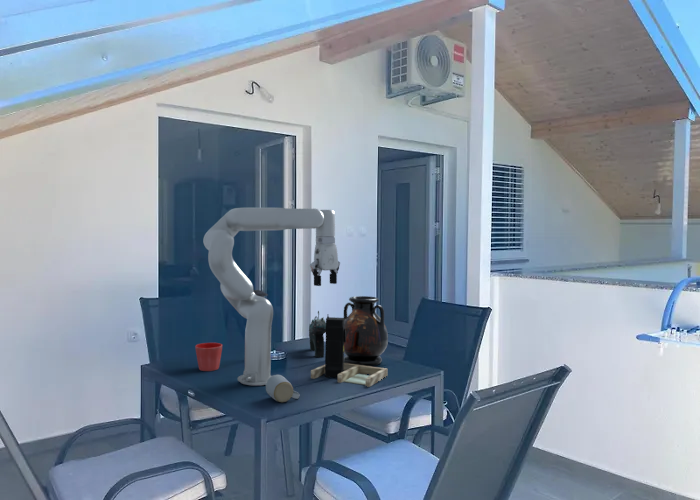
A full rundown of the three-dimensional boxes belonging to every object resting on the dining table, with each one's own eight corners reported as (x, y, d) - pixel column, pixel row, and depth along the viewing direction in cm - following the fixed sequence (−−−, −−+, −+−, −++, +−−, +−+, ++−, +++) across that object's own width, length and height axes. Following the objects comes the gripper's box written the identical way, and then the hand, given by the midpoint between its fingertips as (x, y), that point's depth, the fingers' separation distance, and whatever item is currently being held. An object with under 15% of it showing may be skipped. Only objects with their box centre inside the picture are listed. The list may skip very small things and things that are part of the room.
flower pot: (189, 370, 226) (189, 346, 226) (204, 364, 236) (204, 341, 236) (213, 373, 223) (213, 348, 222) (227, 367, 233) (227, 343, 233)
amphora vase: (395, 360, 251) (396, 297, 250) (374, 370, 231) (376, 302, 230) (351, 354, 260) (353, 293, 259) (328, 364, 241) (329, 298, 240)
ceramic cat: (326, 358, 253) (327, 313, 252) (312, 358, 251) (313, 313, 251) (319, 348, 272) (319, 307, 271) (305, 349, 271) (306, 307, 270)
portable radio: (346, 374, 225) (347, 311, 224) (344, 378, 219) (345, 313, 218) (326, 373, 226) (327, 310, 225) (324, 377, 220) (325, 312, 219)
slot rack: (369, 386, 207) (369, 378, 207) (310, 378, 218) (310, 370, 218) (387, 376, 223) (387, 368, 223) (332, 368, 234) (332, 361, 234)
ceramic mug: (273, 404, 184) (274, 381, 184) (264, 398, 192) (265, 375, 191) (303, 401, 189) (304, 378, 189) (294, 394, 197) (294, 372, 196)
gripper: (318, 241, 215) (318, 287, 215) (346, 240, 228) (346, 283, 229) (303, 241, 219) (303, 285, 220) (331, 240, 233) (331, 282, 234)
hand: (325, 284), depth 224 cm, fingers open, 9 cm apart
